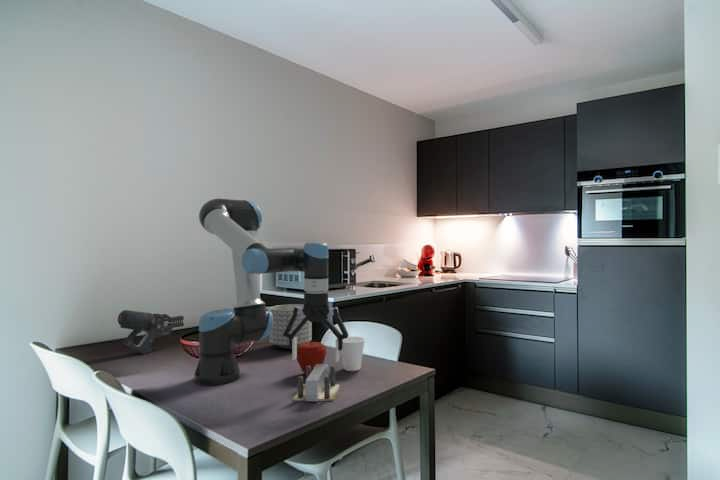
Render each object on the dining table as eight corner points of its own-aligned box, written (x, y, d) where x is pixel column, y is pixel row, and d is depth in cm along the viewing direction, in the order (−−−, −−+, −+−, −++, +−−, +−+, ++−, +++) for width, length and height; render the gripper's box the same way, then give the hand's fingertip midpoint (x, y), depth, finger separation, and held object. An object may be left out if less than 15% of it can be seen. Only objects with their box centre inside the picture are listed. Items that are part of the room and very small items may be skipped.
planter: (317, 342, 196) (317, 304, 196) (303, 353, 177) (302, 310, 178) (280, 341, 200) (279, 303, 200) (262, 351, 182) (261, 309, 182)
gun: (115, 357, 174) (114, 310, 174) (178, 344, 197) (177, 302, 197) (122, 360, 170) (122, 311, 170) (186, 346, 193) (185, 303, 193)
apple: (292, 372, 150) (292, 338, 150) (320, 368, 154) (320, 335, 155) (300, 381, 140) (299, 345, 140) (330, 376, 144) (329, 342, 144)
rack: (293, 400, 122) (292, 378, 122) (303, 385, 135) (303, 365, 135) (333, 401, 121) (332, 378, 121) (339, 386, 134) (339, 365, 134)
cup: (362, 373, 147) (362, 342, 147) (335, 372, 149) (335, 341, 149) (367, 365, 157) (367, 336, 157) (342, 364, 159) (342, 336, 159)
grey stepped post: (318, 401, 120) (318, 380, 120) (305, 401, 120) (304, 380, 120) (328, 382, 136) (328, 363, 137) (316, 382, 137) (316, 363, 137)
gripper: (273, 292, 126) (273, 362, 126) (354, 294, 124) (354, 364, 124) (280, 289, 134) (280, 355, 134) (357, 291, 131) (356, 357, 131)
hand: (315, 359), depth 129 cm, fingers open, 13 cm apart
